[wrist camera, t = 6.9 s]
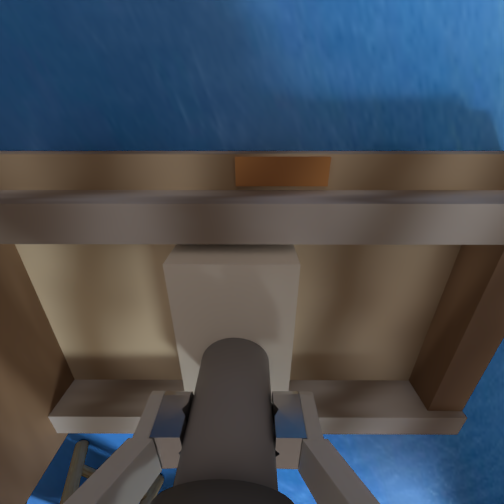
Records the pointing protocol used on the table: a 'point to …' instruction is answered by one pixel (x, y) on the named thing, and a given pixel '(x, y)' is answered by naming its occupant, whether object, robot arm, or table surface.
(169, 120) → the table surface
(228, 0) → the table surface
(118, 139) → the table surface
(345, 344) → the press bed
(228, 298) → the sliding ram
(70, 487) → the swing bench
